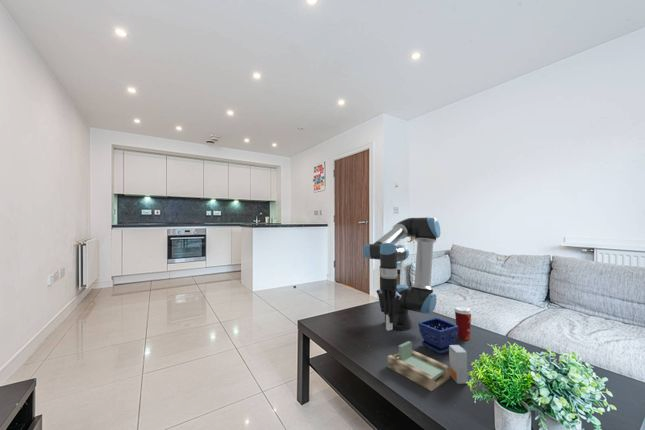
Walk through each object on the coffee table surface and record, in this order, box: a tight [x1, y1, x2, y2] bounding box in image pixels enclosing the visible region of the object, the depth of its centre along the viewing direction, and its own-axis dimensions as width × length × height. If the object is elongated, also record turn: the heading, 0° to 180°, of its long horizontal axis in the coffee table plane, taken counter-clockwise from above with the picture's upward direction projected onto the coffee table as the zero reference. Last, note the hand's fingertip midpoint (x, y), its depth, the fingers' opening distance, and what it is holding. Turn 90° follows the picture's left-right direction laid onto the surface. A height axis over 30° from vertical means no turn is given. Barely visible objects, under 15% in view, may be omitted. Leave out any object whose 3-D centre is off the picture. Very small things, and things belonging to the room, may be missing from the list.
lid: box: [396, 340, 444, 380], centre depth 108 cm, size 18×8×7 cm, turn 37°
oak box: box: [387, 349, 451, 392], centre depth 108 cm, size 20×13×4 cm, turn 37°
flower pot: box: [417, 317, 458, 355], centre depth 128 cm, size 13×13×12 cm
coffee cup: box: [453, 306, 473, 341], centre depth 139 cm, size 8×8×15 cm
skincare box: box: [448, 344, 469, 385], centre depth 103 cm, size 6×4×12 cm
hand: (389, 329), depth 119 cm, fingers closed
